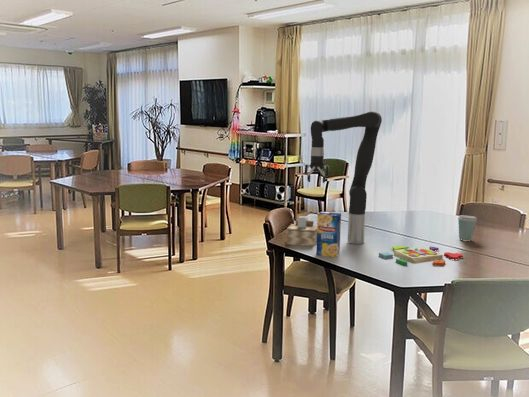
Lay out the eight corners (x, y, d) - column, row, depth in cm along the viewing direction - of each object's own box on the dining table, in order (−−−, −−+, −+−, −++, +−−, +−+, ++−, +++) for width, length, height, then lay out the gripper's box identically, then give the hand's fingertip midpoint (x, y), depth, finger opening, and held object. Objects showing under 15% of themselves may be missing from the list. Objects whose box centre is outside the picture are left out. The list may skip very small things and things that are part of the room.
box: (318, 241, 289) (318, 227, 288) (314, 246, 278) (314, 232, 277) (291, 238, 294) (291, 225, 292) (286, 243, 282) (286, 230, 281)
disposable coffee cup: (457, 237, 303) (459, 213, 301) (476, 239, 298) (479, 215, 295) (454, 240, 294) (456, 216, 292) (473, 243, 289) (476, 218, 286)
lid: (318, 227, 288) (318, 220, 287) (314, 231, 277) (314, 225, 276) (291, 225, 292) (291, 218, 292) (286, 229, 281) (286, 223, 280)
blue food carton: (319, 251, 268) (321, 211, 264) (339, 254, 264) (341, 213, 260) (316, 254, 262) (317, 214, 258) (336, 257, 258) (338, 215, 254)
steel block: (307, 226, 285) (307, 216, 284) (305, 228, 281) (305, 218, 280) (299, 226, 286) (299, 215, 285) (297, 227, 282) (298, 217, 281)
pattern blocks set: (423, 272, 237) (424, 266, 236) (369, 255, 263) (370, 250, 263) (468, 259, 259) (468, 253, 259) (414, 245, 286) (414, 239, 285)
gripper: (304, 154, 290) (303, 182, 293) (328, 155, 286) (327, 183, 289) (306, 153, 297) (305, 180, 300) (330, 154, 293) (329, 182, 296)
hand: (316, 182), depth 294 cm, fingers open, 8 cm apart
